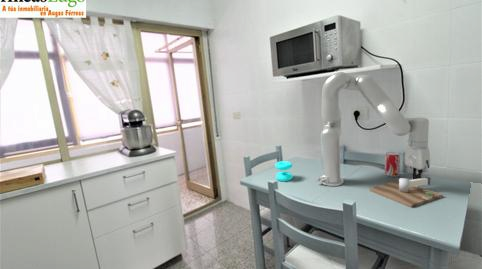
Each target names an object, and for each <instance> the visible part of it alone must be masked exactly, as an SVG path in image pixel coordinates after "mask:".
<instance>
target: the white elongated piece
mask: <svg viewBox="0 0 482 269" xmlns="http://www.w3.org/2000/svg"><path fill="white" fill-rule="evenodd" d="M412 179H413V178H412ZM412 179H409V178H406V177H400V178H399V179H398V180H399V191H402V192H409V188H410V187H416V186H421V187H422V186H429V185H431V178H430V177H428V176H427V177H421V178H420V179H413V180H412Z"/></svg>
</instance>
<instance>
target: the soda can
mask: <svg viewBox="0 0 482 269" xmlns="http://www.w3.org/2000/svg"><path fill="white" fill-rule="evenodd" d="M400 167H401V156H400V153H399V152H396V151H386V154H385V155H384V175H385V176H387V177H391V178H397V177H398V176H400V171H401V170H400V169H401V168H400Z"/></svg>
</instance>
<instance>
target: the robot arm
mask: <svg viewBox="0 0 482 269" xmlns="http://www.w3.org/2000/svg"><path fill="white" fill-rule="evenodd" d="M341 90H349V91H355V92H359V93H360V95H361V96H362V97H363V98H364V99H365V101H366V102H367V103H368V104H369V107H371V109H373V111H374V112H375V113H376V114H378V116H379V117H380V118H381V119H382V121H383V122H384V123H385V124H386V126H387V127H388V128H389V130H390V131H391V132H392V134H395V135H396V136H399V137H400V136H401V137H403V136H406V135H408V139H407V145H406V148H405V153H404V164H405V166H407V168H409V169H410V170H411V174H412V179H411V180H413V179H420V178H422V174H423V173H428V172H429V169H430V166H431V154H430V147H429V126H430V125H429V124H430V122H429V121H430V120H429V119H428V118H427V117H405V116H404V115H403V114H402V113H401V111H400V110H399V109H398V107H397V106H396V105H395V103H394V102H393V101H392V99H391V98H390V96H389V95H388V94H387V93H386V91H385V90H383V88H382V87H381V85H379V83H378V82H377V81H376V79H375V78H374V77H373V76H372V75H371V74H355V73H350V72H349V73H348V72H343V71H338V72H336V73H334V74H332V75H331V76H329V77H328V78H327V79H326V80H325V81H324V83H323V85H322V88H321V113H320V114H321V115H320V116H321V120H322V121H323V122H322V124H323V129H322V130H321V133H320V136H319V138H320V146H321V148H320V149H321V172H322V173H321V174H320V176H319V177H315V178H314V180H315V182H316V183H317V182H319V183H320V184H322V185H325V186H328V187H339V186H341V185H343V184H344V183H345V182H344V179H343V178H341V147H340V146H341V145H340V144H341V142H340V141H341V140H340V139H341V138H340V137H341V134H342V132H341V131H342V112H341V109H340V108H339V103H340V102H339V99H340V96H339V95H340V91H341Z"/></svg>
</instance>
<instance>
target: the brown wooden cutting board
mask: <svg viewBox="0 0 482 269" xmlns="http://www.w3.org/2000/svg"><path fill="white" fill-rule="evenodd" d="M368 191H370V192H372V193H374V194H377V195H379V196H382V197H385V198H386V199H389V200H391V201H393V202H397V203H399V204H402V205H403V206H406V207H409V208H410V209H411V208H414V207H417V206H421V205H424V204H427V203H429V202H432V201H435V200H437V199H438V200H439V199H441V198H443V196H444V194H443V193H439V192H436V191H434V190H430V189H427V188H424V187H422V186H416V187H410V188H409V192H402V191H399V179H397V180H393V181H390V182H386V183H383V184H379V185H376V186H373V187H370V188H369V190H368Z"/></svg>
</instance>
